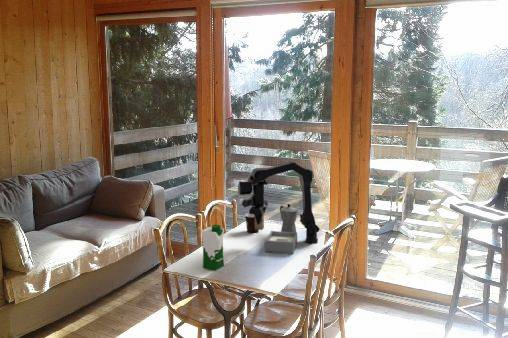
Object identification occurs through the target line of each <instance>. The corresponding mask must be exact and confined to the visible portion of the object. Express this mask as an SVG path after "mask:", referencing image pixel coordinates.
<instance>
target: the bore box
mask: <svg viewBox="0 0 508 338" xmlns="http://www.w3.org/2000/svg"><path fill="white" fill-rule="evenodd" d="M264 243H265V244H264V245H265V247H264V248H265V249H264V251H265V253H270V254H284V255H287V254H288V255H294V253H295V250H296V248H297V245H298V232H297V231H296V232H281V231H275V230H270V232H269V234H268V235H267V237H266V239H265V242H264Z"/></svg>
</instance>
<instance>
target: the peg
mask: <svg viewBox="0 0 508 338" xmlns="http://www.w3.org/2000/svg"><path fill="white" fill-rule="evenodd" d="M264 215H265V213H264V212H263V215H262V218H261V221H260V224H257V221H256V218H255V215H254V220H255V230H259V231H263V230H264V228H265V222H264V221H265V219H264V217H265V216H264Z"/></svg>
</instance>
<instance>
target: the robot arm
mask: <svg viewBox="0 0 508 338" xmlns="http://www.w3.org/2000/svg"><path fill="white" fill-rule="evenodd" d="M289 171H294V172H295V173H296V174H297V175H298V181H299V182H300V184H301V195H302V197H301V199H302V213H300V214H299V222H300V223H301V225H302V226H303V227H304V229H306V230H305V232H306V233H305V240H304V243H305V244H306V243H307V244H318V241H319V238H318V233H319V231H320V229H321V228H320V227H319V226H318V225H317V224H316V219H315V216H314V214H313V209H312V208H313V207H312V206H313V205H312V192H311V191H312V190H311V189H312V188H311V185H312V182H313V178H314V177H313V176H314V173H313V171H312V170H311V169H309V168H307V167H304V166H303V167H302V166H301V165H299V164H297V163H296V161H292V160H291V161H288V162H285V163H281V164H277V165H274V166H270V167H256V168H253V169H252V171H251V174H250V176H249V178H248V179H247V180H245V181H242V180H241V181H240V180H239V181H238V185H237V194H238V195H239V196H243V195H251V194H252V196H251V197H249V198H246V199H243V200H242V202H241V203H242V204H241V206H243V208H244V209H245V208H247V207H249V206H251V207H250V208H249V210H248V213H249V214H254V215H255V218H256V221H257V224H260V221H261V218H262V215H263V212H264V214H266V213H265V212H266V211H267V209H268V208H267V207H268V205H269V201H268V200H267V199H265V197H266V194H265V186H266V185H269V183H268V182H267V179H268V178H270V177H272V176H275V175H279V174H282V173H286V172H289Z"/></svg>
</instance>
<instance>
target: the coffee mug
mask: <svg viewBox="0 0 508 338" xmlns="http://www.w3.org/2000/svg"><path fill="white" fill-rule="evenodd" d="M244 217H245V224H246V225H245V227H246V232H248V233H247V234H250V233H251V234H253V235H255V234H254V233H256V234H258V233H259V231H260V230H255V220H254V214H249V212H248V213H245V214H244Z"/></svg>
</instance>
